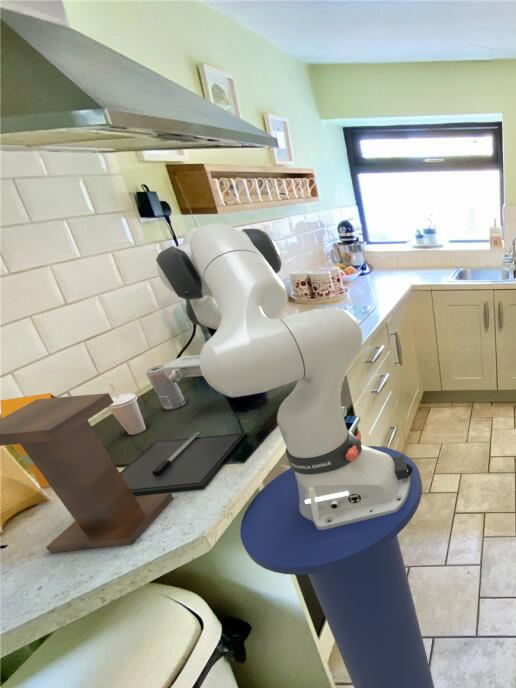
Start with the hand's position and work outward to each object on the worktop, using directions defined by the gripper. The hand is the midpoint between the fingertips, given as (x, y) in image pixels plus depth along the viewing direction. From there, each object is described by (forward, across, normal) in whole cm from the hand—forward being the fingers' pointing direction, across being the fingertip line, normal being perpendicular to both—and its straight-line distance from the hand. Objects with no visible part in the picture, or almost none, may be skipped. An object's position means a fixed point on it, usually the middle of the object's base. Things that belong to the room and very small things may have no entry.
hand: (192, 377), depth 105 cm
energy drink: (-14, -18, +14) cm, 27 cm away
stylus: (+14, 0, +13) cm, 19 cm away
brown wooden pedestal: (+35, 0, +14) cm, 38 cm away
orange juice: (+16, -22, +14) cm, 31 cm away
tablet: (+17, +1, +14) cm, 22 cm away
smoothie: (-1, -20, +14) cm, 25 cm away
